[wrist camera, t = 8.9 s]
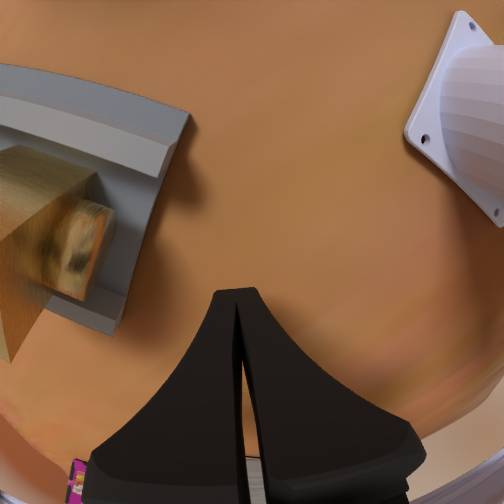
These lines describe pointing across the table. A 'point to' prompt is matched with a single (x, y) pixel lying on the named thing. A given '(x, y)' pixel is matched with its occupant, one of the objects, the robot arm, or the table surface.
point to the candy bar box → (75, 482)
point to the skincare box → (255, 481)
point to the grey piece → (96, 165)
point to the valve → (46, 238)
